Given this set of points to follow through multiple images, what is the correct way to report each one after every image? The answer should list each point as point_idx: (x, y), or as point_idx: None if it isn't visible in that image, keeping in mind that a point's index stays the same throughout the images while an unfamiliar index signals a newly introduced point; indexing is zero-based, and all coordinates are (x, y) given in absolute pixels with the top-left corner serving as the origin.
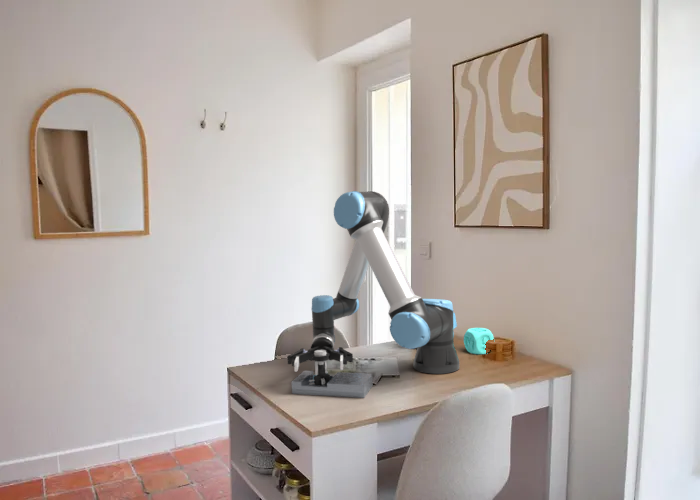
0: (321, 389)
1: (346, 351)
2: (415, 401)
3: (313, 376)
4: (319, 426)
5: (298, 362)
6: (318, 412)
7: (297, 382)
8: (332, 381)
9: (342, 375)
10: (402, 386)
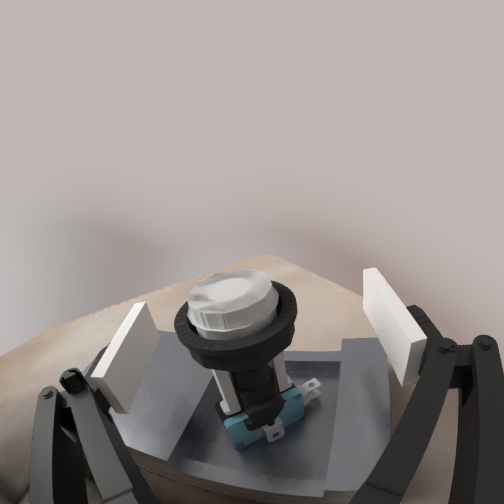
0: None
1: (37, 450)
2: (60, 336)
3: (299, 391)
4: (256, 259)
5: (392, 341)
6: None
7: (358, 340)
8: None
9: (155, 411)
10: (23, 407)
